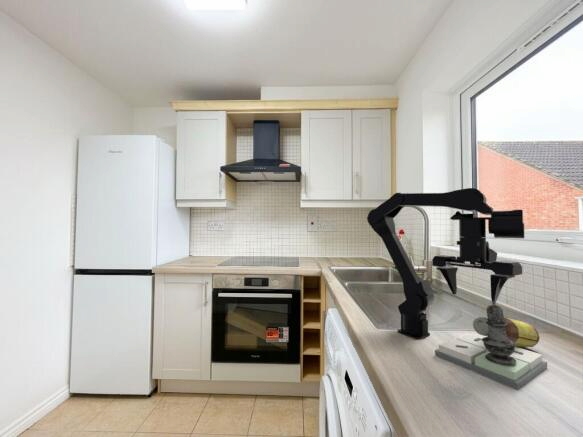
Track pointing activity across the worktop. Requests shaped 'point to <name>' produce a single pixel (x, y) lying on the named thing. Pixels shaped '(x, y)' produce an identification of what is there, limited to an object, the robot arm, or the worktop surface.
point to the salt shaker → (498, 338)
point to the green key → (503, 367)
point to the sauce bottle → (511, 331)
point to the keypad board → (493, 375)
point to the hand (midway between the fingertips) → (473, 298)
